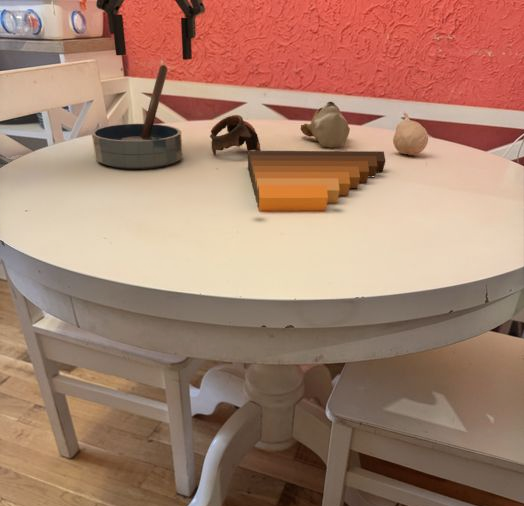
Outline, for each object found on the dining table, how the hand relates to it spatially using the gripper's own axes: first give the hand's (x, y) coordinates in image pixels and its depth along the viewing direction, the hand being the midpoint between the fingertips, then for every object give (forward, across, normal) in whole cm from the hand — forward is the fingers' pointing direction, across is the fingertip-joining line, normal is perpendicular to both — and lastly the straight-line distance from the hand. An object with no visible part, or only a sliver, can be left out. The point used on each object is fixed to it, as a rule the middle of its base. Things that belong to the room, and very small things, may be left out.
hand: (153, 57), depth 95 cm
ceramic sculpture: (+16, -32, -18) cm, 40 cm away
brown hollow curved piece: (+16, -16, -1) cm, 23 cm away
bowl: (+16, 0, +10) cm, 19 cm away
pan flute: (+16, -37, +16) cm, 44 cm away
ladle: (+16, 0, +5) cm, 17 cm away
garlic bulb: (+16, -50, -13) cm, 54 cm away
